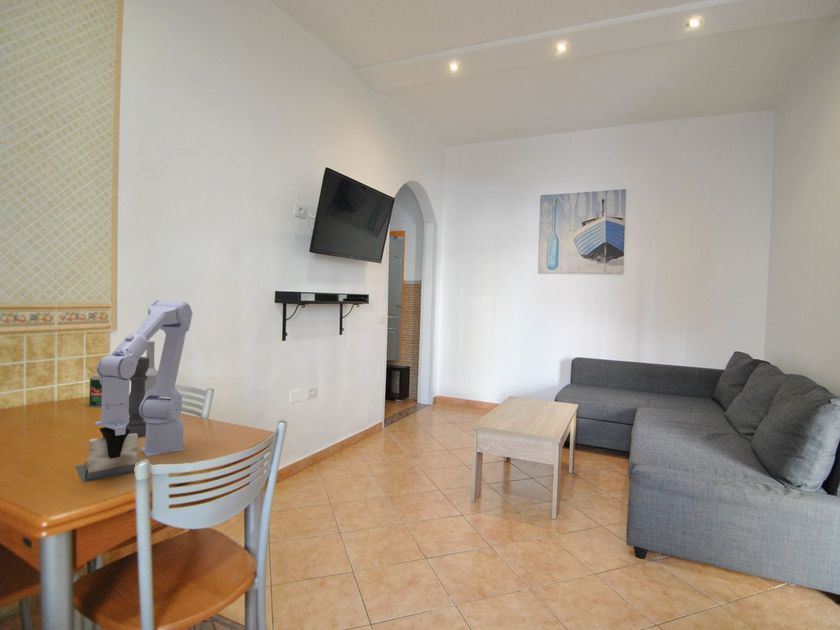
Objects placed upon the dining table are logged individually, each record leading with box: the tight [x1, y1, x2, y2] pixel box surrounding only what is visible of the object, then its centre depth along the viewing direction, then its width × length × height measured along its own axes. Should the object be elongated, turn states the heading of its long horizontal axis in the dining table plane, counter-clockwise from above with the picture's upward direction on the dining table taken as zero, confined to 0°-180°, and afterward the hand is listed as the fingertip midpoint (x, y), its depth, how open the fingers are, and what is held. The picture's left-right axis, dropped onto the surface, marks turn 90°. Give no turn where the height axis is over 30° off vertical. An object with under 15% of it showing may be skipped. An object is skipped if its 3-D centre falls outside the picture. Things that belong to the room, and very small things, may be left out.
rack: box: [74, 463, 135, 484], centre depth 117 cm, size 13×13×2 cm
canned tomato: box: [88, 375, 102, 408], centre depth 178 cm, size 8×8×11 cm
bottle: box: [145, 340, 160, 398], centre depth 165 cm, size 7×7×28 cm
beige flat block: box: [88, 433, 139, 473], centre depth 114 cm, size 10×2×9 cm, turn 134°
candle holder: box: [126, 356, 149, 439], centre depth 144 cm, size 6×6×25 cm
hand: (113, 456), depth 114 cm, fingers closed on beige flat block, 1 cm apart
